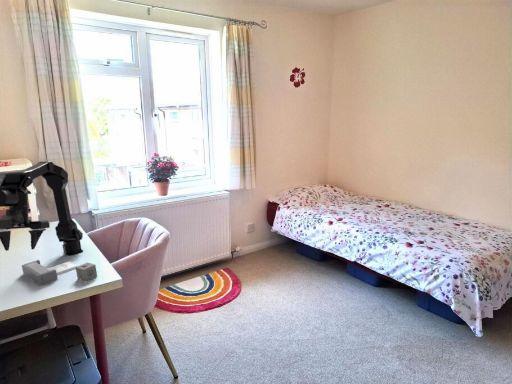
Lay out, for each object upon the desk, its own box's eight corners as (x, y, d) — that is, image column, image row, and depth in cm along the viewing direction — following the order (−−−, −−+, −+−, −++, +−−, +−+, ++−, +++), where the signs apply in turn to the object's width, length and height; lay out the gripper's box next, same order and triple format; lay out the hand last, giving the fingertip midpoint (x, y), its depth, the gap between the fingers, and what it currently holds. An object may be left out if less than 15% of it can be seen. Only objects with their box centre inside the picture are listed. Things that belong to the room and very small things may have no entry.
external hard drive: (37, 275, 139) (69, 264, 149) (45, 280, 134) (77, 268, 144) (36, 271, 139) (68, 260, 148) (44, 276, 134) (77, 265, 143)
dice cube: (77, 279, 133) (75, 267, 132) (89, 273, 137) (87, 262, 136) (85, 281, 131) (83, 269, 130) (97, 276, 135) (95, 264, 134)
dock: (40, 268, 144) (38, 259, 143) (57, 279, 133) (56, 270, 132) (23, 274, 139) (21, 265, 138) (40, 286, 129) (38, 276, 128)
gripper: (-26, 208, 116) (-25, 254, 115) (30, 205, 116) (31, 252, 115) (-2, 207, 127) (0, 250, 126) (49, 205, 127) (51, 247, 127)
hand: (20, 249), depth 123 cm, fingers open, 9 cm apart
